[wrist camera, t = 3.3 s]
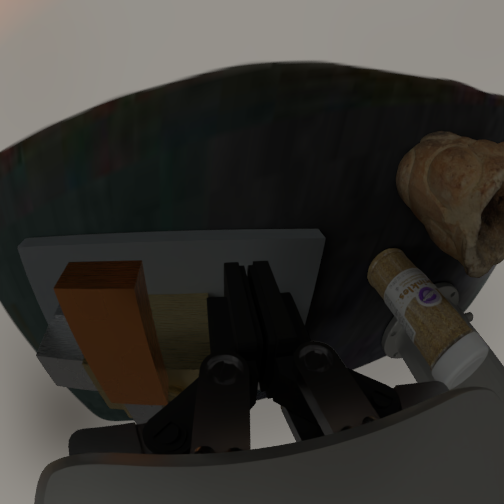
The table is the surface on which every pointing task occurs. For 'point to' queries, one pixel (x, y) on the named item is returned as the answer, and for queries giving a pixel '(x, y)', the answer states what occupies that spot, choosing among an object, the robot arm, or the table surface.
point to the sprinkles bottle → (427, 318)
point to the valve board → (181, 259)
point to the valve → (169, 337)
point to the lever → (116, 332)
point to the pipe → (458, 196)
